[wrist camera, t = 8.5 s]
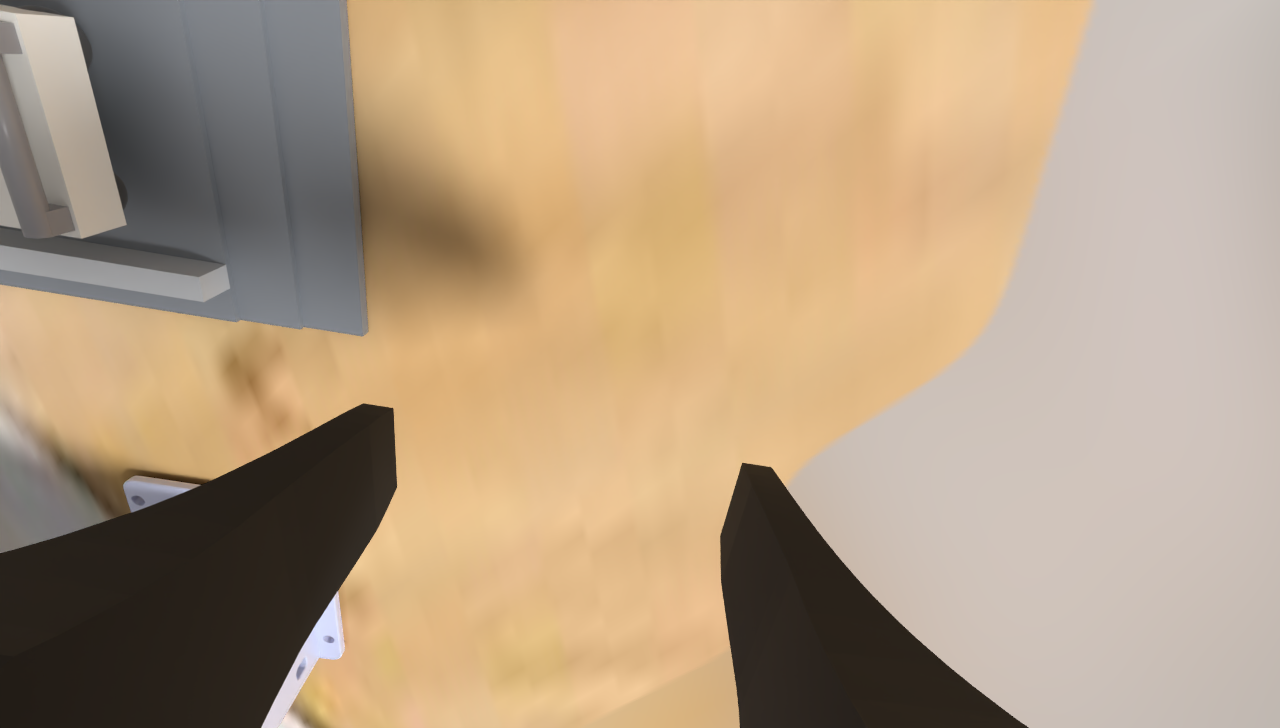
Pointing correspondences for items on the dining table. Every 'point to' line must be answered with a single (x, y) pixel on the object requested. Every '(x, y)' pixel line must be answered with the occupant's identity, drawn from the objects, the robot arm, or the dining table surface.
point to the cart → (52, 131)
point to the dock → (218, 164)
